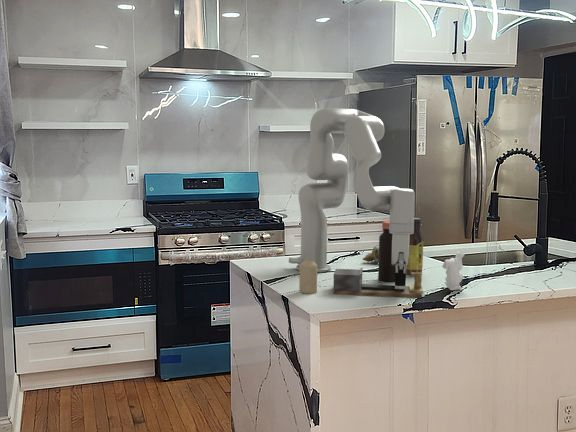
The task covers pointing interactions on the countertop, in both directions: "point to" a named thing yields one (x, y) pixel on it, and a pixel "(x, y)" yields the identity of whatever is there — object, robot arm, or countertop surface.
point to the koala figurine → (454, 272)
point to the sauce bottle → (415, 250)
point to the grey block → (383, 286)
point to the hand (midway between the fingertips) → (399, 282)
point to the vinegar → (385, 255)
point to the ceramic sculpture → (373, 255)
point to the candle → (308, 277)
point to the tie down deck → (352, 282)
